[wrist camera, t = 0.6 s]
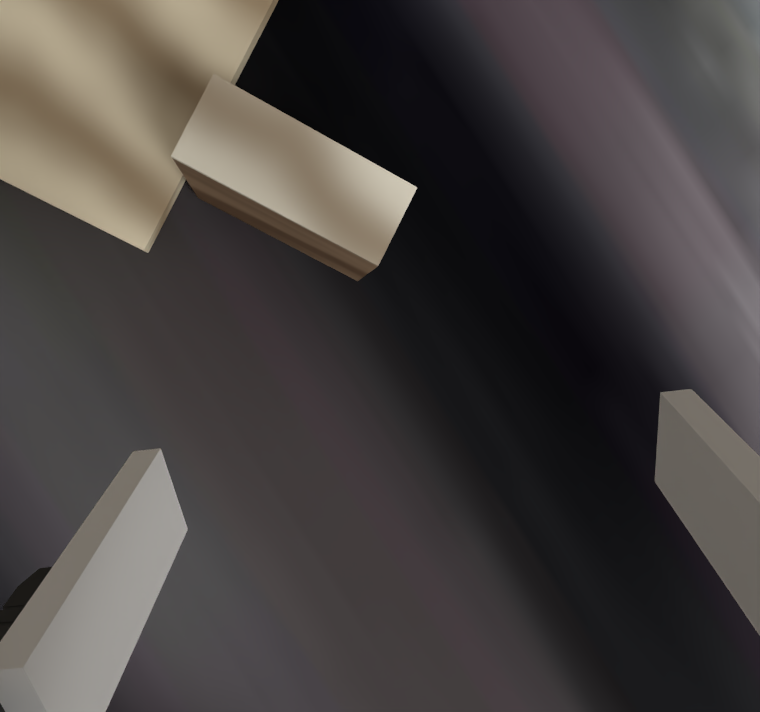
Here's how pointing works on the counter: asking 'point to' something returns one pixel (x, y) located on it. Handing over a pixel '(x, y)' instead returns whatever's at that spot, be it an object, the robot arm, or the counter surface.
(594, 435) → the counter surface
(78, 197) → the board
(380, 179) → the wooden block
